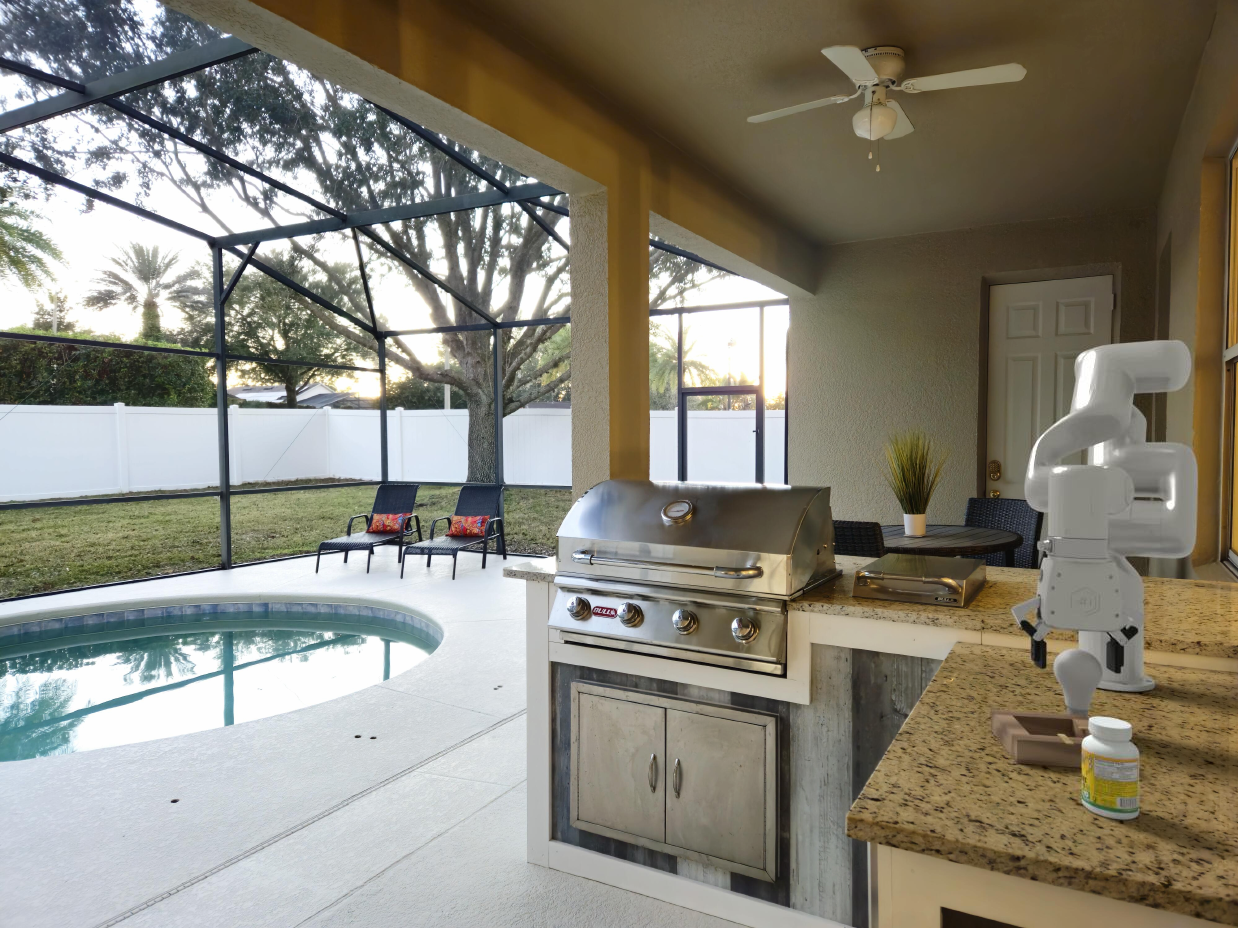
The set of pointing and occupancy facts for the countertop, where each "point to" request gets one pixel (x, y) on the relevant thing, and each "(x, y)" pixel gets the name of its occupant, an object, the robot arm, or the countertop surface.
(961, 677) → the countertop surface
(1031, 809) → the countertop surface
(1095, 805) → the supplement bottle
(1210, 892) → the countertop surface
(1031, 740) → the socket block
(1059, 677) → the lightbulb
